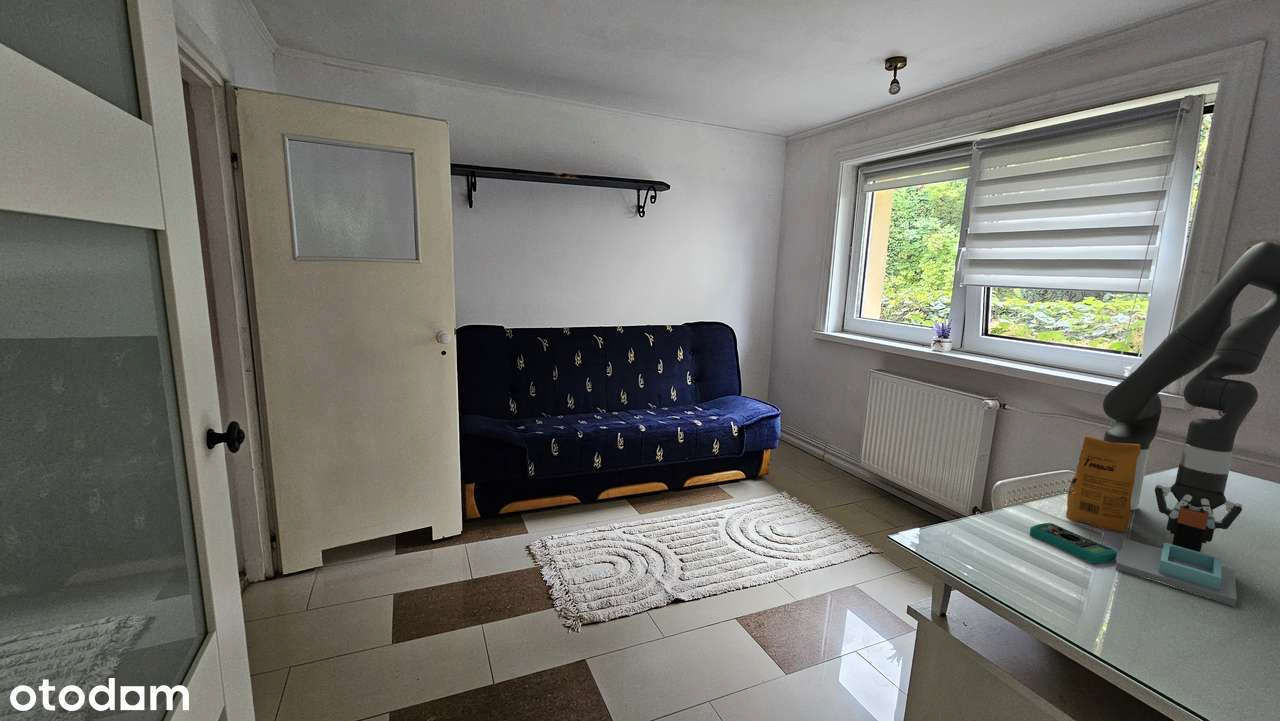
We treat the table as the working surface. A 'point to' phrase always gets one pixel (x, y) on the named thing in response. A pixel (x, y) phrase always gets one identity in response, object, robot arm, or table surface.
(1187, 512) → the battery
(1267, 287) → the robot arm
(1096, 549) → the digital multimeter
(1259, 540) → the table surface
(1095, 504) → the coffee package
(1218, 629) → the table surface
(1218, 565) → the plate
